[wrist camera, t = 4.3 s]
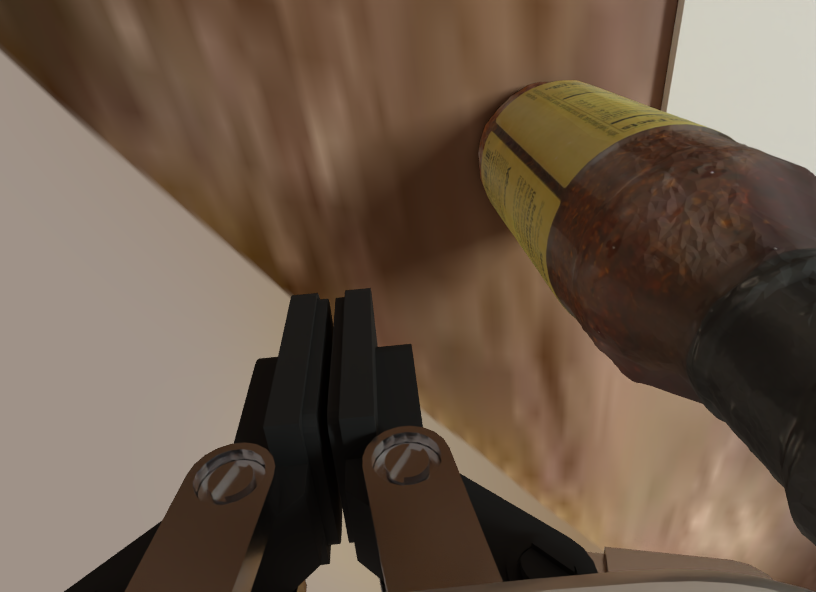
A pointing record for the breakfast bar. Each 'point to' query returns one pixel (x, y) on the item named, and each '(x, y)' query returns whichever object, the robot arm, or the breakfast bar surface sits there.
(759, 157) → the sauce bottle
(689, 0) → the mat
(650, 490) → the breakfast bar surface
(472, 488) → the robot arm
